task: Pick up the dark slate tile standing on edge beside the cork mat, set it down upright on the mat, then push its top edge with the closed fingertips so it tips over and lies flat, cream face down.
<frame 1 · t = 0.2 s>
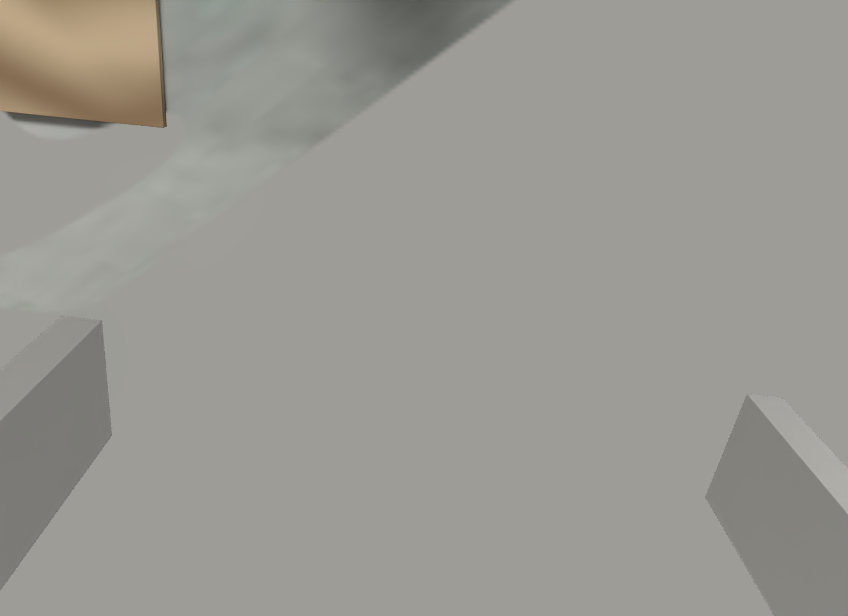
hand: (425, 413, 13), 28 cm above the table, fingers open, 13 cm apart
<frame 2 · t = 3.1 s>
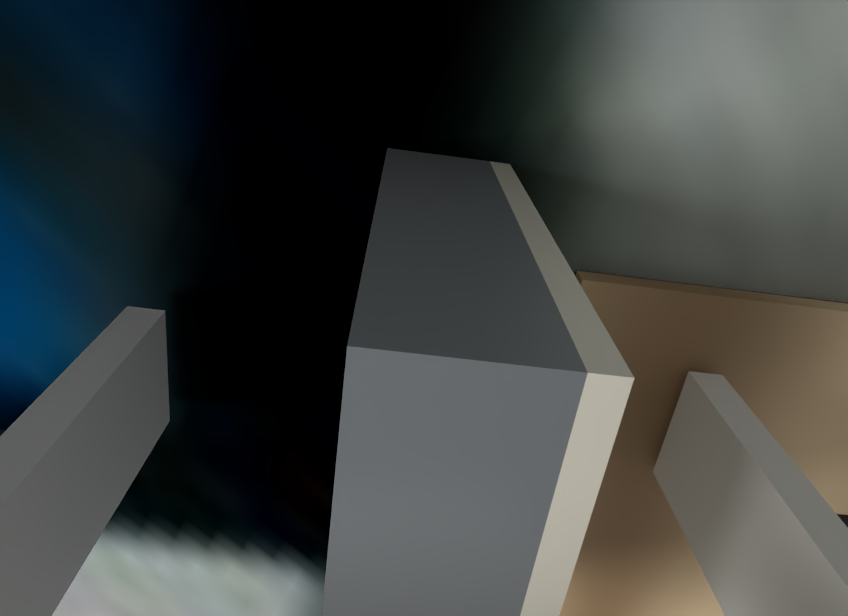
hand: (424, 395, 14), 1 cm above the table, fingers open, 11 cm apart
tile: (416, 375, 15), on the table
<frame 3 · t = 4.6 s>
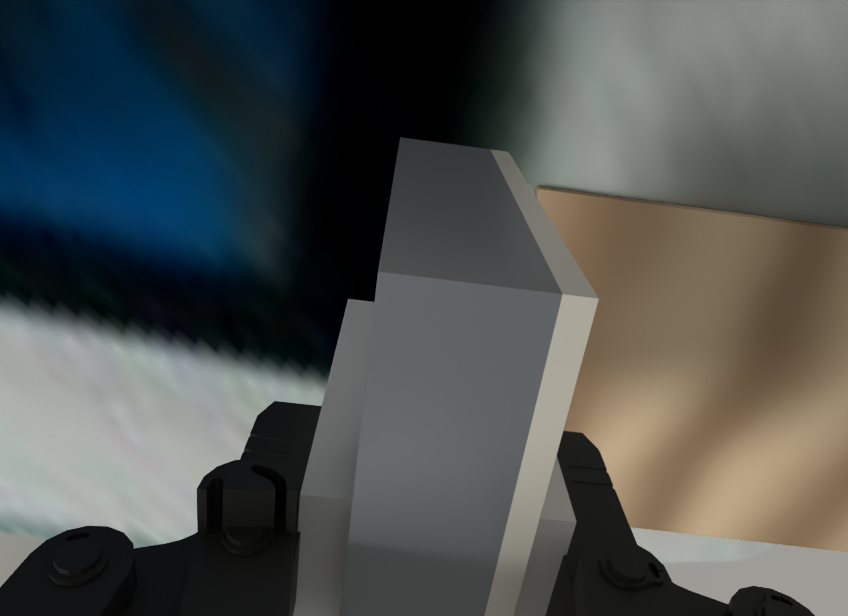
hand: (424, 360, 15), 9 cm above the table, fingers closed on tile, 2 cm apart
mat: (723, 388, 26), on the table
tile: (424, 344, 16), point 8 cm above the table, touching gripper
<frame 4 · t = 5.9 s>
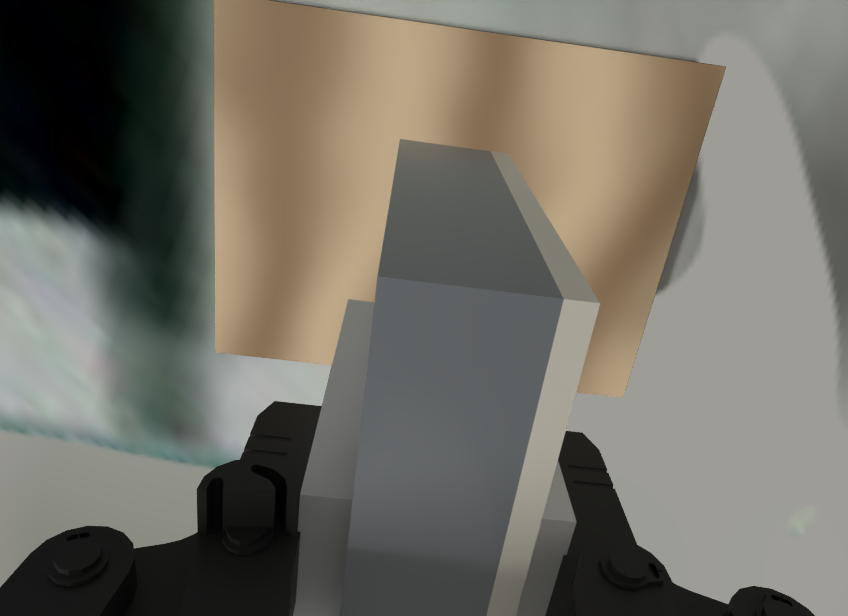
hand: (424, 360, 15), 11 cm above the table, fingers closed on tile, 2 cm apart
mat: (446, 219, 26), on the table
tile: (424, 346, 16), point 11 cm above the table, touching gripper
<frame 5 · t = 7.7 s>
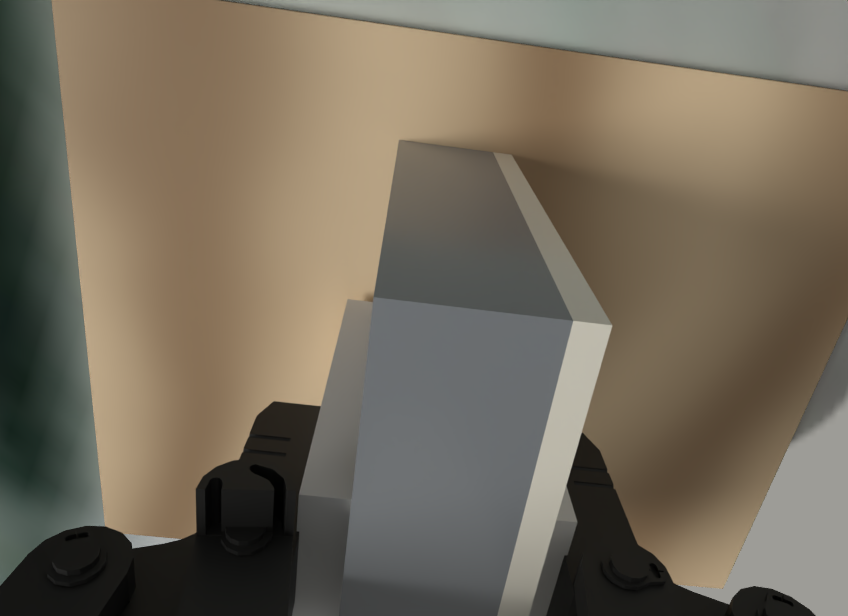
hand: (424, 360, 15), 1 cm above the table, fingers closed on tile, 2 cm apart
mat: (460, 341, 16), on the table
tile: (424, 352, 16), point 1 cm above the table, touching gripper, mat
when the fingers open (1 cm above the table, at t = 7.9 s): tile stays where it is, resting on mat.
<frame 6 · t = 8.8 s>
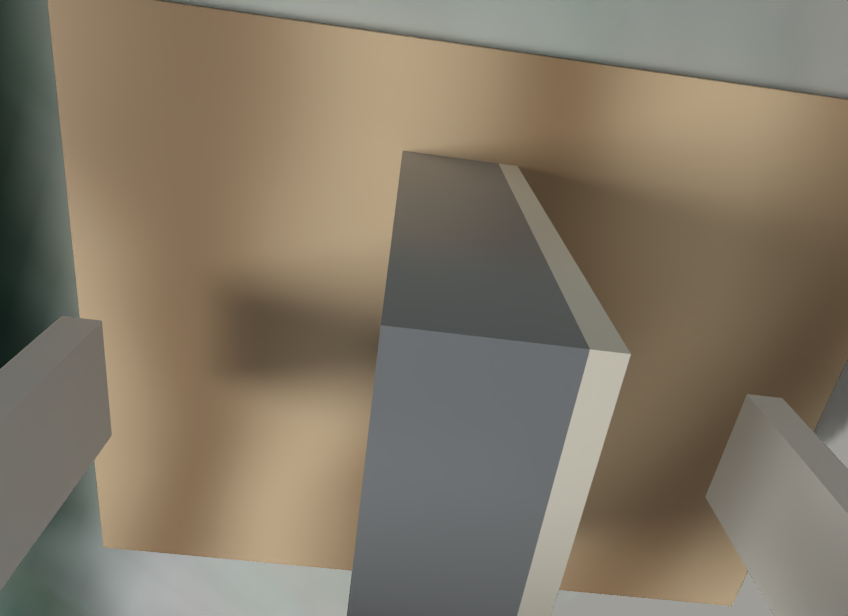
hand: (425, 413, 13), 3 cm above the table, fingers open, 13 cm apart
mat: (464, 355, 16), on the table
tile: (428, 366, 15), resting on mat
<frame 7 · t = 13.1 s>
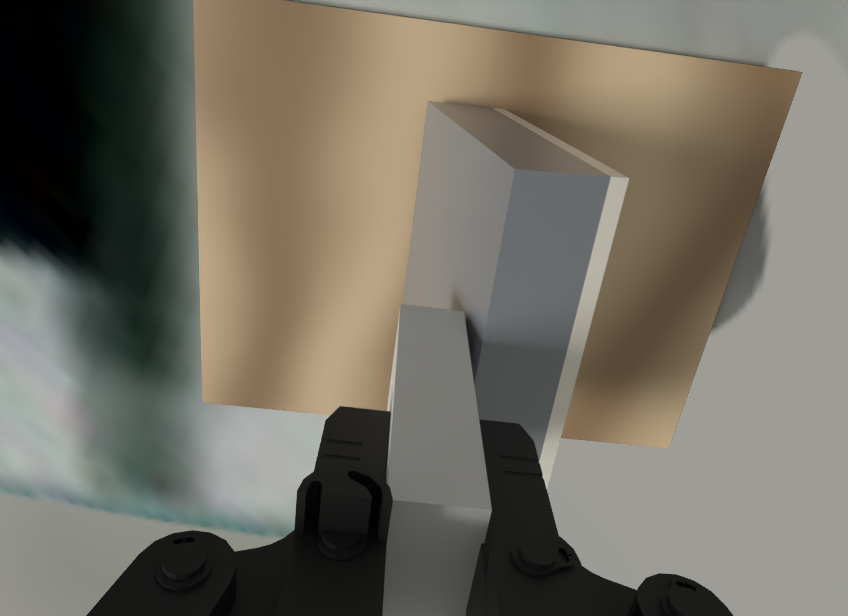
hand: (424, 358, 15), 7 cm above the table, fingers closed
mat: (468, 250, 22), on the table
tile: (443, 259, 22), point 1 cm above the table, tilted 11°, touching mat
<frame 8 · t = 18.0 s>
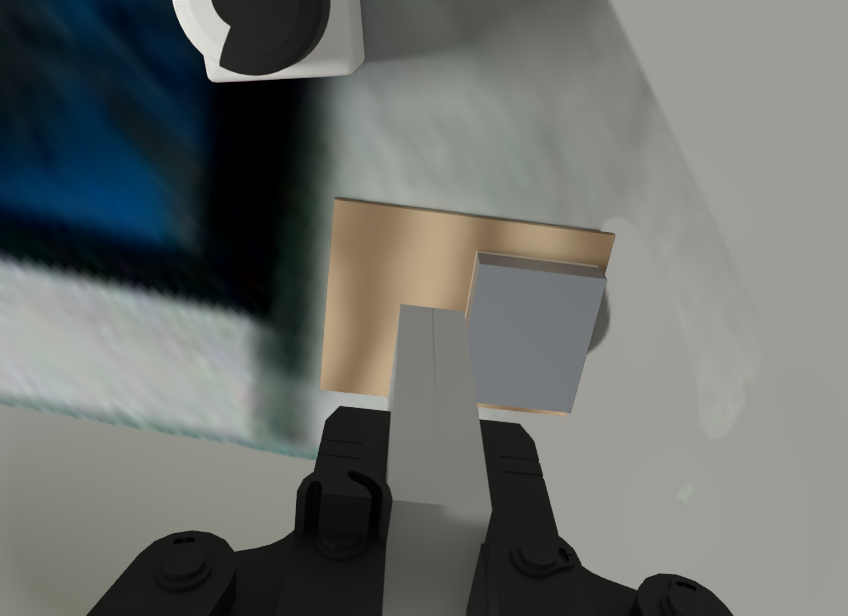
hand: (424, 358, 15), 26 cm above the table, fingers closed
mat: (459, 313, 44), on the table
tile: (465, 327, 43), point 2 cm above the table, tilted 90°, touching mat
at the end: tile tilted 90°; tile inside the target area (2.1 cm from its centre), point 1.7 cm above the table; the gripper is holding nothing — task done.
